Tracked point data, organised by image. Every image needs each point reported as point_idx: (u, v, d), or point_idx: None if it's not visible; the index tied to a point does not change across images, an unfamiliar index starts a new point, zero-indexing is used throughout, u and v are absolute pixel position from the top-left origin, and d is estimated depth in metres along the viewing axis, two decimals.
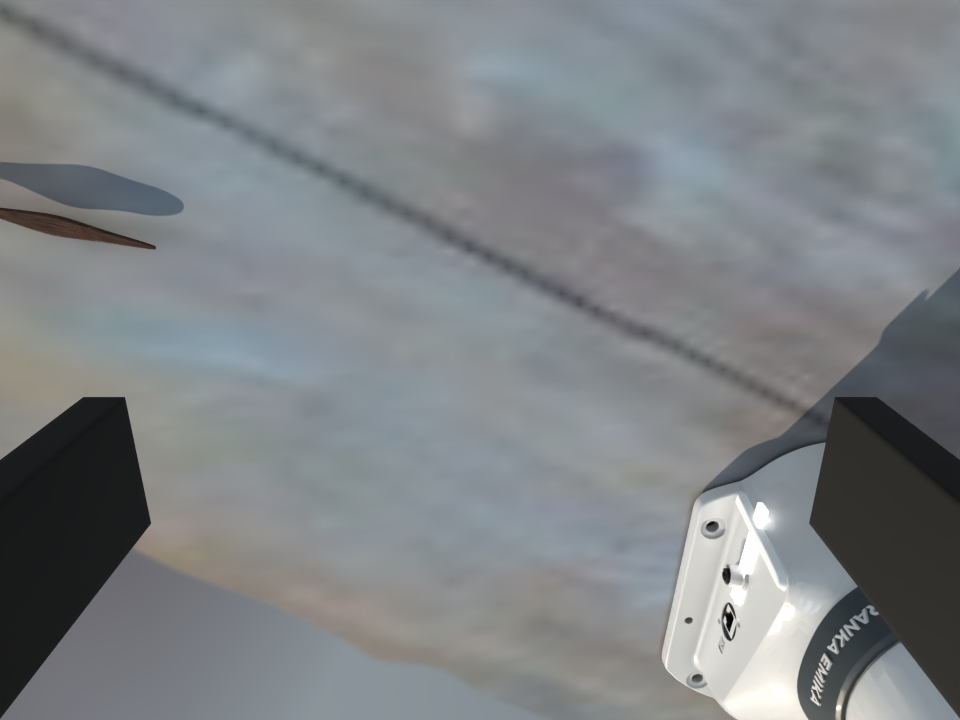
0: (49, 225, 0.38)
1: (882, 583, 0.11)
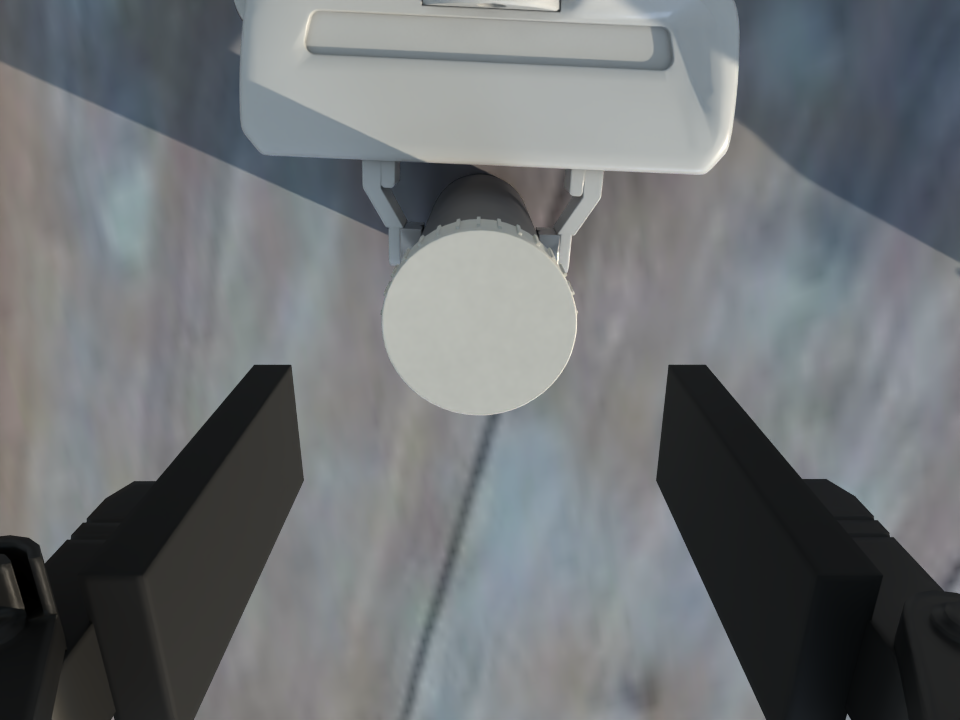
0: None
1: (691, 524, 0.12)
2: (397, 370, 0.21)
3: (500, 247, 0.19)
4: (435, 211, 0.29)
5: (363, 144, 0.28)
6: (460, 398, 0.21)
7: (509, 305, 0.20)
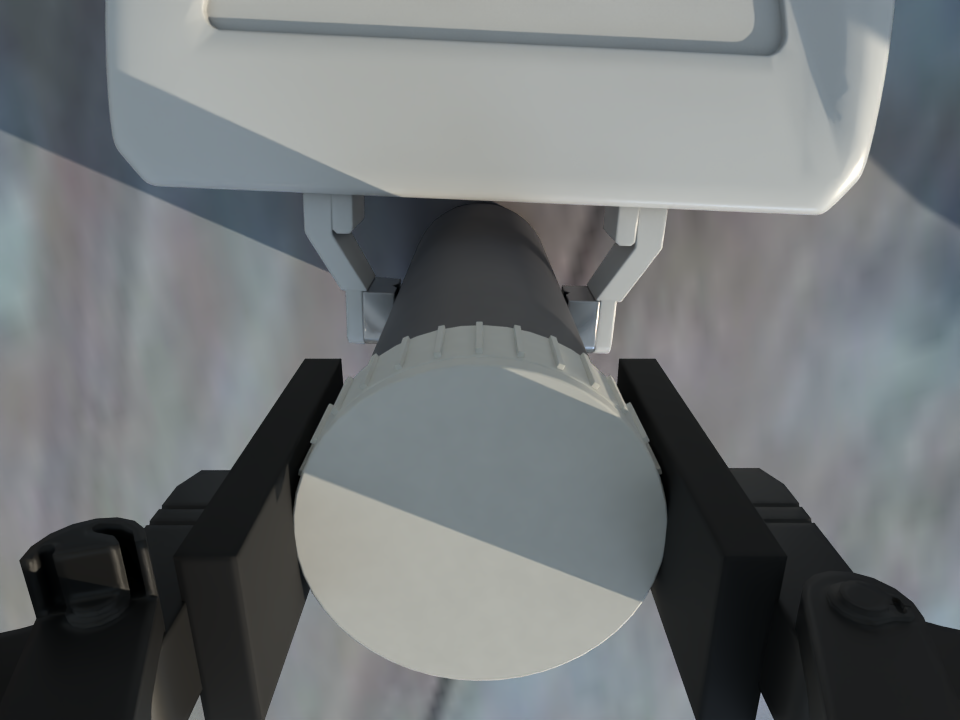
0: None
1: None
2: (327, 609, 0.11)
3: (522, 398, 0.10)
4: (414, 268, 0.20)
5: (301, 170, 0.18)
6: (445, 654, 0.11)
7: (538, 501, 0.10)
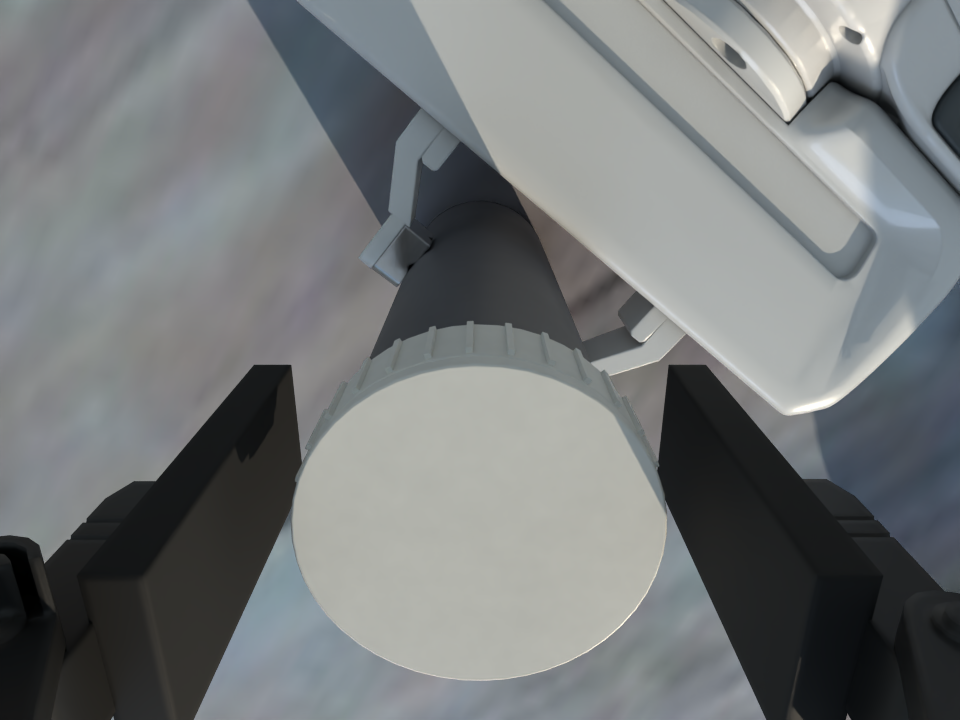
0: None
1: (691, 524, 0.12)
2: (483, 678, 0.12)
3: (352, 444, 0.10)
4: (464, 238, 0.20)
5: (440, 92, 0.18)
6: (588, 619, 0.11)
7: (465, 476, 0.10)
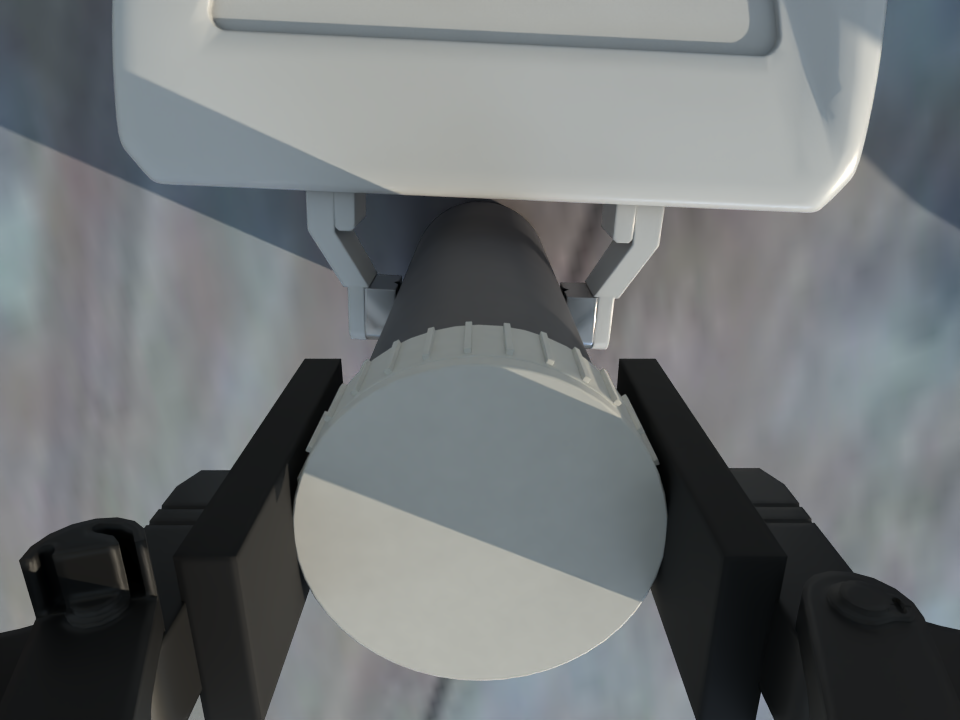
0: None
1: None
2: (585, 650, 0.11)
3: (319, 527, 0.10)
4: (415, 265, 0.20)
5: (305, 168, 0.18)
6: (632, 549, 0.11)
7: (425, 496, 0.10)
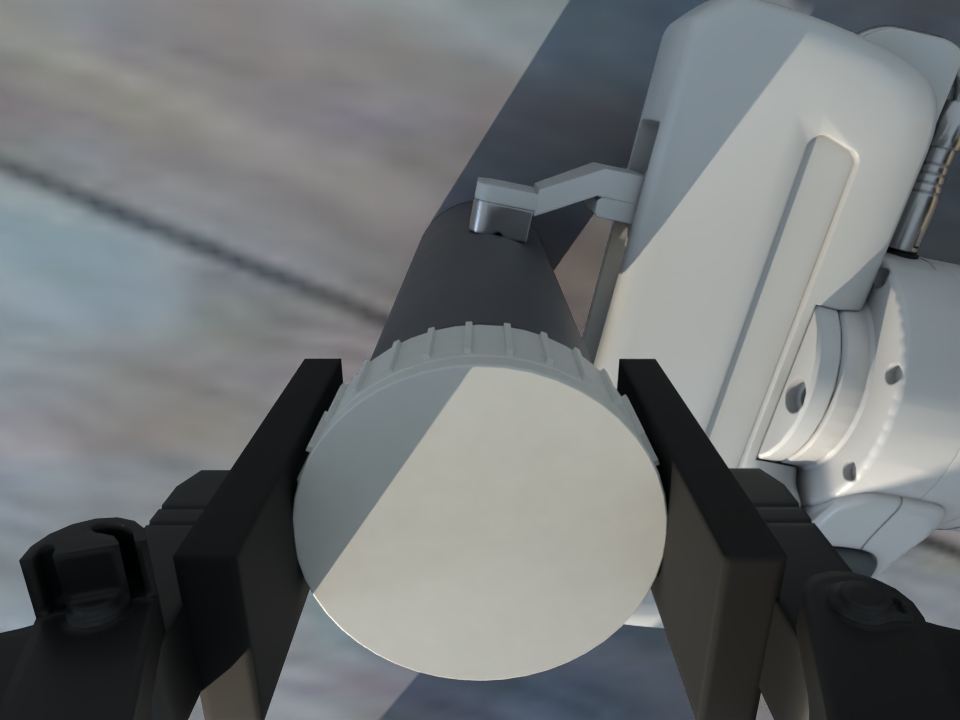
0: None
1: None
2: (585, 650, 0.11)
3: (319, 527, 0.10)
4: (550, 269, 0.20)
5: (670, 191, 0.19)
6: (632, 549, 0.11)
7: (426, 496, 0.10)
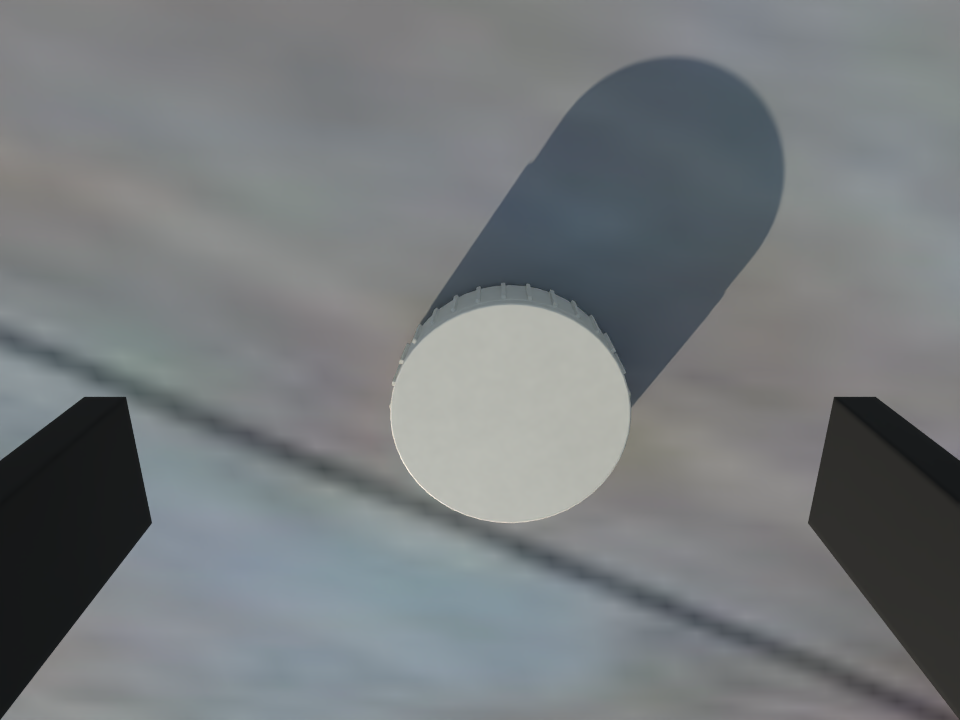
0: None
1: (881, 582, 0.11)
2: (579, 501, 0.17)
3: (408, 411, 0.16)
4: None
5: None
6: (608, 428, 0.16)
7: (476, 390, 0.16)
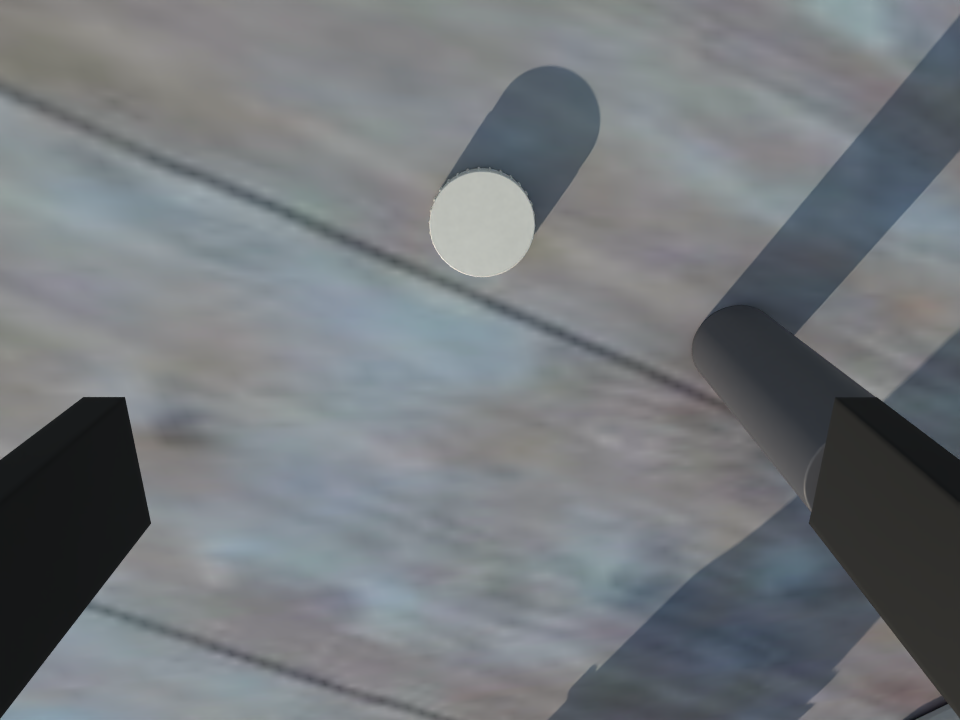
0: None
1: (882, 582, 0.11)
2: (513, 265, 0.38)
3: (437, 221, 0.38)
4: None
5: None
6: (525, 229, 0.38)
7: (467, 211, 0.37)
